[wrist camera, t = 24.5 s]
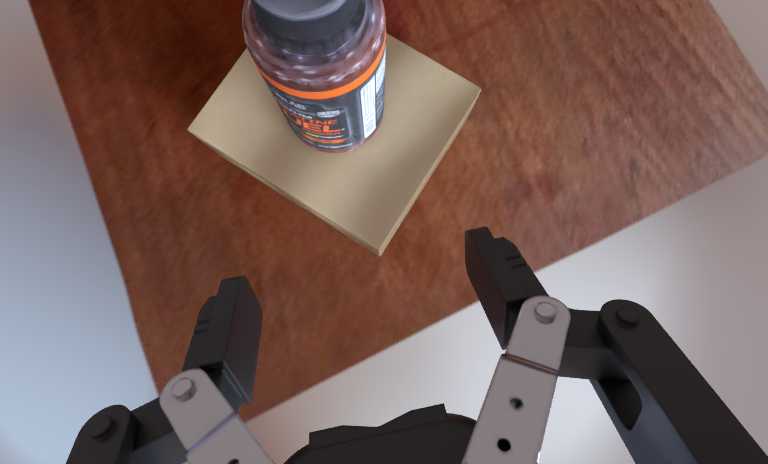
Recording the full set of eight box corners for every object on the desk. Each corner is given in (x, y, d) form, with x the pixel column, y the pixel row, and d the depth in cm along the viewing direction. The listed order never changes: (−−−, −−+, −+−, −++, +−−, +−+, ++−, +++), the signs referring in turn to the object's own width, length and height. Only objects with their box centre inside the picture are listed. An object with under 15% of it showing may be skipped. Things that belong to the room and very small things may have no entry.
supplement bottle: (275, 142, 24) (182, 16, 13) (305, 55, 25) (241, -135, 14) (369, 168, 24) (357, 64, 13) (396, 80, 25) (407, -92, 13)
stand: (465, 121, 30) (482, 88, 25) (380, 256, 28) (379, 250, 23) (310, 29, 31) (295, -20, 26) (219, 155, 29) (186, 129, 24)
